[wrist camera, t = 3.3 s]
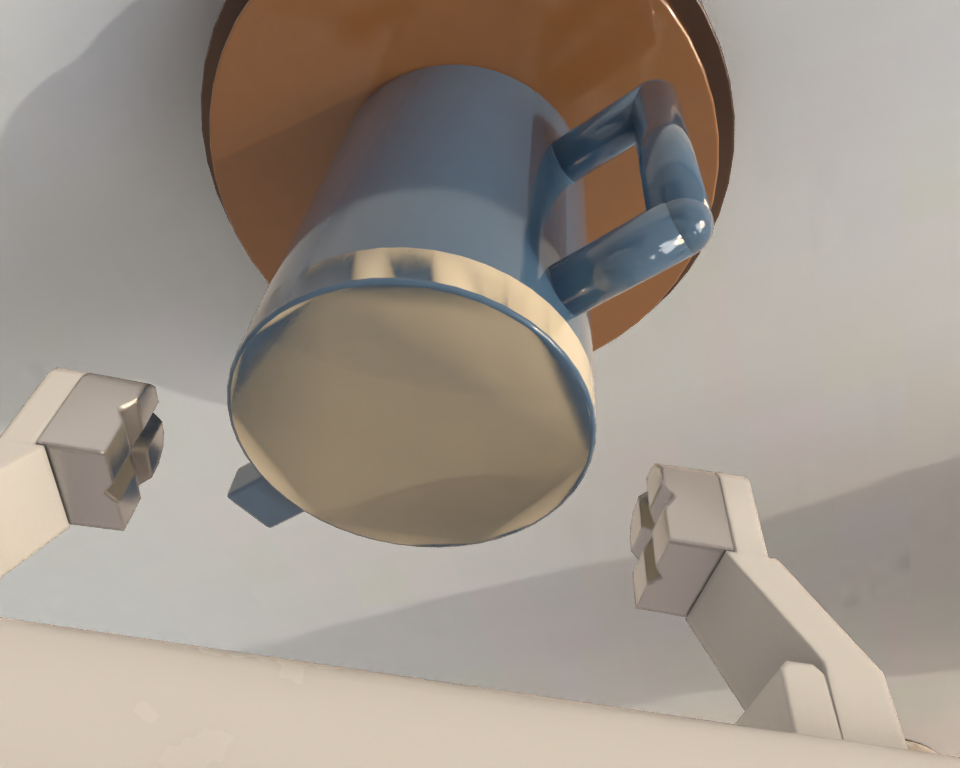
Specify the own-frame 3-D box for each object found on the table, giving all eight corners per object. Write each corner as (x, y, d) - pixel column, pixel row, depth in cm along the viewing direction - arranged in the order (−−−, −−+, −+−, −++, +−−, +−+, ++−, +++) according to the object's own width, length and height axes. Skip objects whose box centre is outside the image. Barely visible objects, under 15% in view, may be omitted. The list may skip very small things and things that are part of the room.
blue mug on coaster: (429, 421, 27) (381, 690, 20) (114, 119, 21) (-128, 352, 13) (799, 232, 21) (923, 514, 14) (522, -268, 15) (486, -228, 8)
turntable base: (402, -319, 16) (390, -319, 15) (838, 117, 21) (854, 142, 20) (141, 176, 24) (120, 200, 23) (504, 406, 29) (501, 435, 28)
